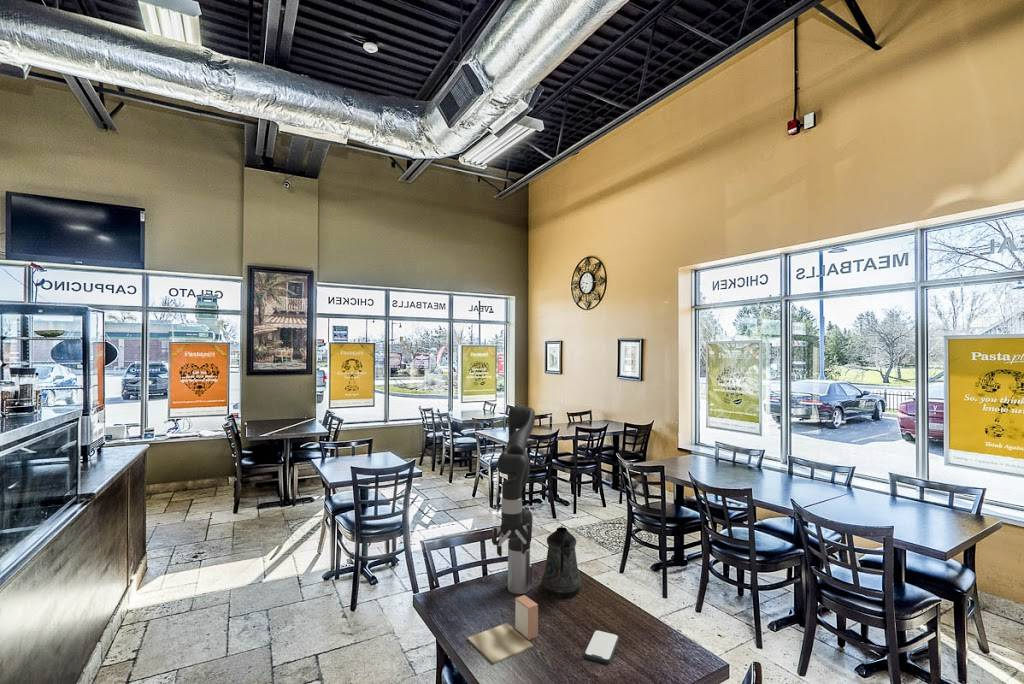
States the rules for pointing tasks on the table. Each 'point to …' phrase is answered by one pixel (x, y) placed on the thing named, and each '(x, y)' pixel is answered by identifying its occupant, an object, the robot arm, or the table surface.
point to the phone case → (601, 647)
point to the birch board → (500, 643)
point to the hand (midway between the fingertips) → (511, 554)
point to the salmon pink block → (526, 617)
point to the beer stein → (561, 565)
